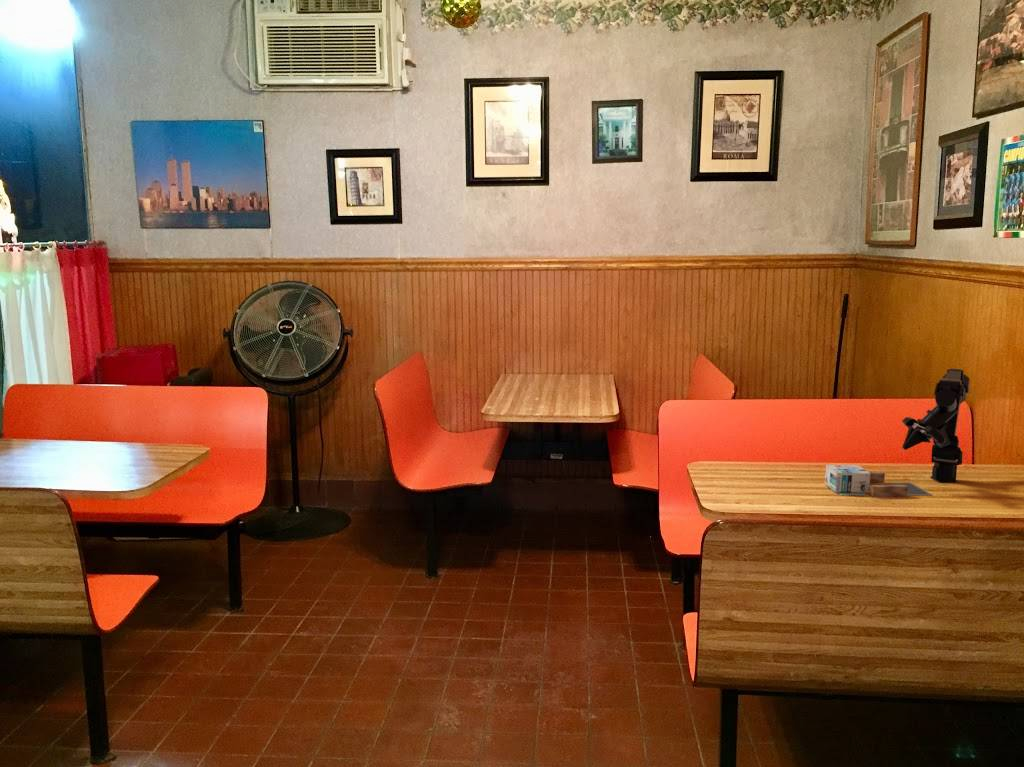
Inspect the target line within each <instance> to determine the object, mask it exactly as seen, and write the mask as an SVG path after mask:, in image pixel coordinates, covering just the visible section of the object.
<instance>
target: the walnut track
mask: <svg viewBox="0 0 1024 767" xmlns="http://www.w3.org/2000/svg"><path fill="white" fill-rule="evenodd" d="M868 472H869V473H870V483H884V484H870V486H869V496H870V497H871V496H872V497H871V498H873V497H880V498H908V495H907V494H908V486H906V485H889V484H885V478H886V477H885V476H886V473H885V472H884V471H868Z"/></svg>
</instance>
